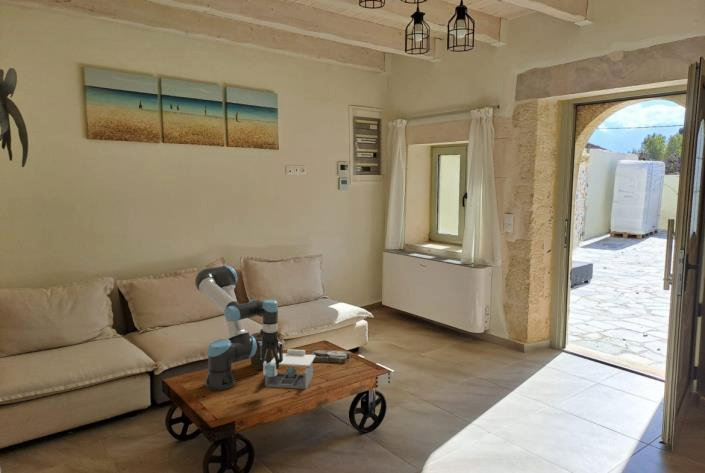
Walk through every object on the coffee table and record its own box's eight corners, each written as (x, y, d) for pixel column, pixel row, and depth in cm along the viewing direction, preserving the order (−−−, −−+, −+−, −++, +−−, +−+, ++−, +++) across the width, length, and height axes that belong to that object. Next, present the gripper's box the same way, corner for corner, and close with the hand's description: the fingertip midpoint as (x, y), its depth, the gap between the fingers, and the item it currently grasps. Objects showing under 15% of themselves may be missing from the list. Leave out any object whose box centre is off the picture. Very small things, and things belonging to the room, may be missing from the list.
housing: (265, 388, 250) (264, 370, 249) (274, 376, 266) (273, 359, 265) (305, 390, 247) (305, 373, 246) (312, 378, 263) (312, 361, 262)
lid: (269, 364, 257) (269, 358, 257) (277, 354, 272) (277, 348, 272) (309, 366, 254) (309, 360, 254) (315, 356, 269) (315, 350, 269)
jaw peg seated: (285, 380, 258) (285, 369, 257) (287, 376, 263) (287, 366, 262) (294, 380, 257) (294, 370, 256) (297, 377, 262) (297, 366, 262)
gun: (346, 359, 283) (350, 350, 298) (306, 356, 287) (312, 348, 301) (346, 365, 283) (350, 356, 298) (306, 362, 287) (312, 354, 302)
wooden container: (261, 359, 292) (260, 324, 290) (281, 363, 286) (280, 327, 283) (245, 367, 279) (244, 331, 276) (266, 371, 272) (265, 334, 270)
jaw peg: (263, 377, 242) (263, 365, 241) (267, 373, 247) (266, 361, 246) (273, 377, 241) (273, 366, 240) (276, 373, 246) (276, 362, 245)
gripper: (250, 331, 239) (250, 376, 241) (285, 334, 236) (285, 379, 239) (255, 327, 246) (255, 370, 249) (289, 329, 243) (289, 373, 246)
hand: (270, 374), depth 244 cm, fingers closed on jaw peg, 5 cm apart
